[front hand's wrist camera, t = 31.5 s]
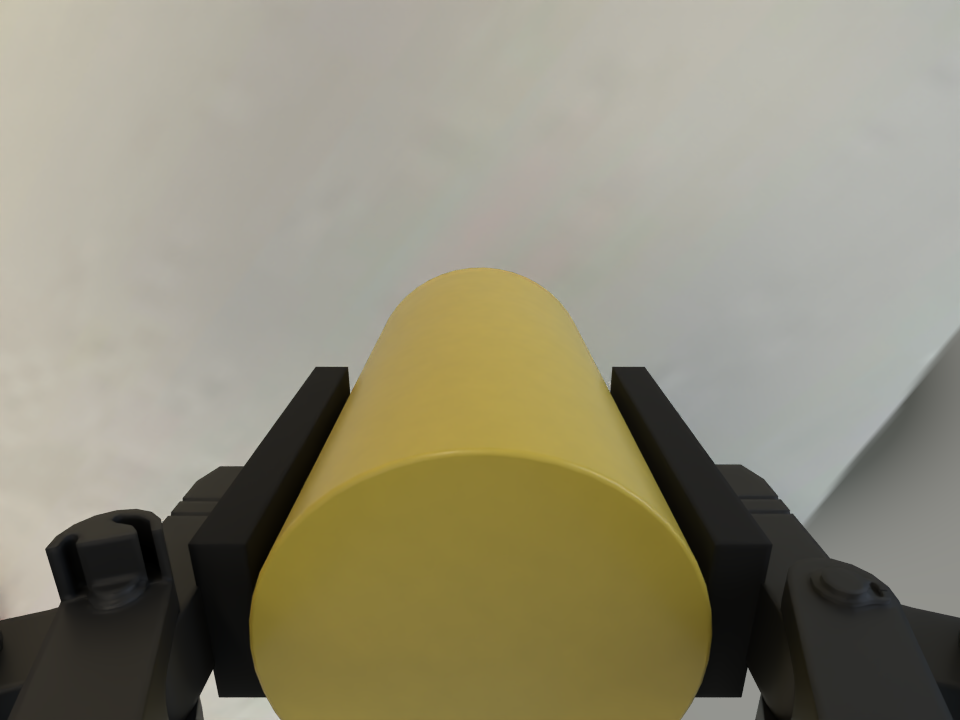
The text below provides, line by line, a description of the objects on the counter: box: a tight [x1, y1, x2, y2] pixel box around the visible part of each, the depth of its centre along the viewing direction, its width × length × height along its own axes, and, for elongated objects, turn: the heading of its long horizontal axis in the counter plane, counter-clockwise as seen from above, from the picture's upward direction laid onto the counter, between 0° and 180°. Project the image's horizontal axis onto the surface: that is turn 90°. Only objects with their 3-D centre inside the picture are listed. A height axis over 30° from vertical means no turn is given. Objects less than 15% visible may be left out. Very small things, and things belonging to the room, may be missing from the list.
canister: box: [249, 268, 712, 720], centre depth 13 cm, size 6×6×10 cm
